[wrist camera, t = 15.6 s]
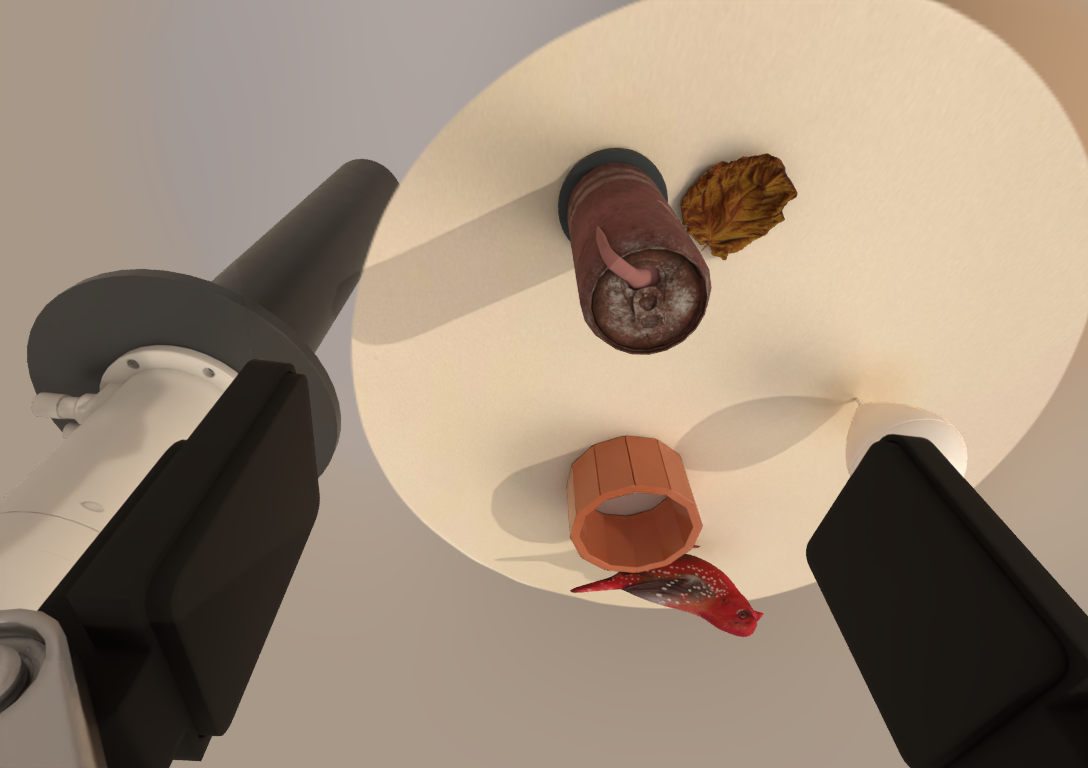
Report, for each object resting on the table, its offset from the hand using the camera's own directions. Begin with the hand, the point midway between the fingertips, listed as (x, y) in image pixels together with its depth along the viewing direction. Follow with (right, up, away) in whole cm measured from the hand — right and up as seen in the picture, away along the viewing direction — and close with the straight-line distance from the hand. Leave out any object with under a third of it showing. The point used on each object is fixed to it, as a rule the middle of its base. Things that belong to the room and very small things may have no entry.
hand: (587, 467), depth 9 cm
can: (+4, +13, +28) cm, 31 cm away
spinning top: (+26, 0, +38) cm, 45 cm away
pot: (+7, -8, +42) cm, 44 cm away
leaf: (+12, +14, +28) cm, 33 cm away
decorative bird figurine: (+10, -14, +48) cm, 51 cm away
